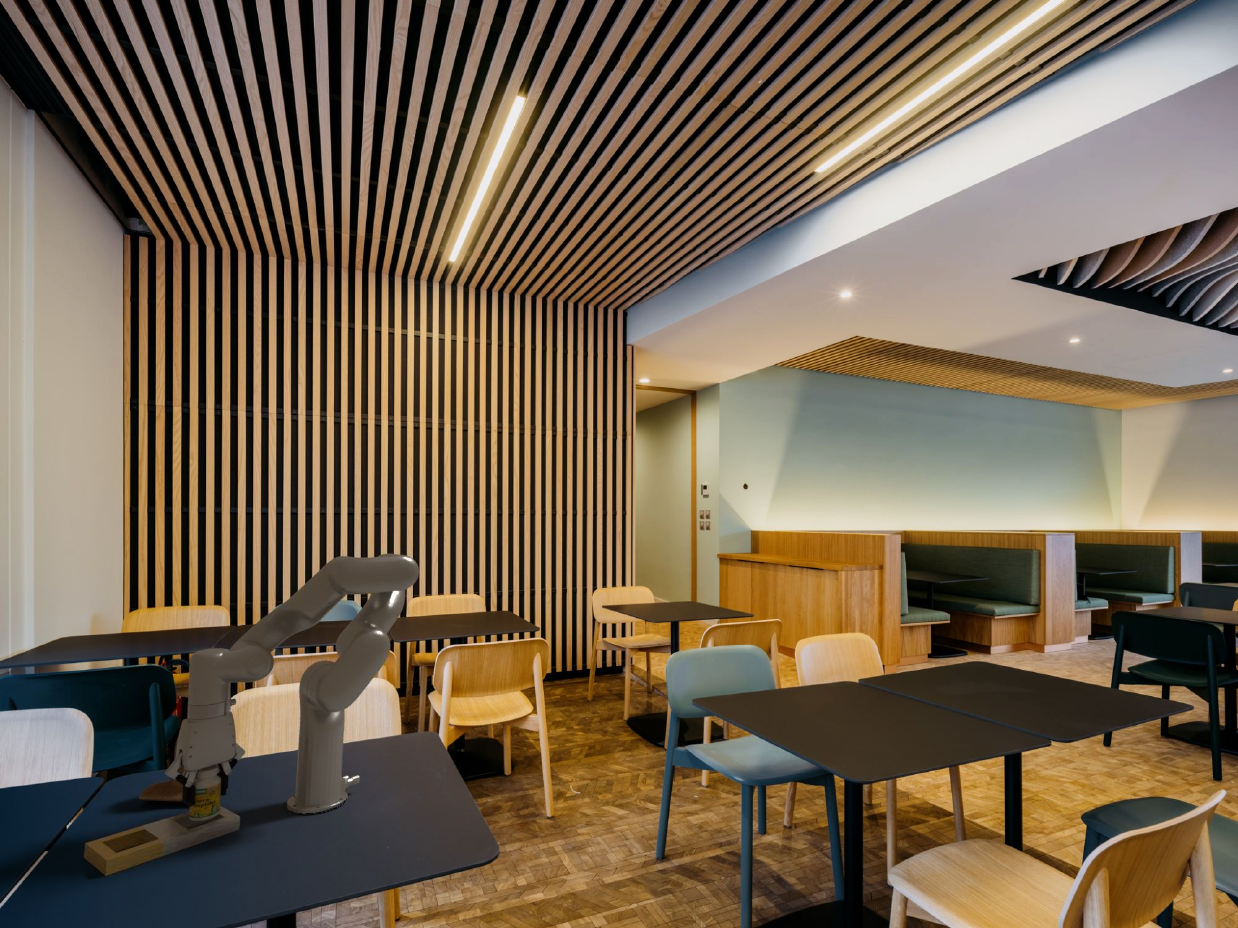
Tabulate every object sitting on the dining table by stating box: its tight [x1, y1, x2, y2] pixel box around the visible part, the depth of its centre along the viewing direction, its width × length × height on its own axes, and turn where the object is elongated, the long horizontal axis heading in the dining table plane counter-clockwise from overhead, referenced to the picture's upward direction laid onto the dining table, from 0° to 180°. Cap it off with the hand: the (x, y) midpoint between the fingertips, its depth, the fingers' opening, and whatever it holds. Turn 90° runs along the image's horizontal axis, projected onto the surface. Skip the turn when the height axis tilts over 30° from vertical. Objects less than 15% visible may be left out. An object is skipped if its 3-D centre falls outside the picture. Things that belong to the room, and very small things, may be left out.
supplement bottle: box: [188, 765, 221, 821], centre depth 137 cm, size 5×5×10 cm
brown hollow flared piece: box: [138, 737, 218, 802], centre depth 154 cm, size 15×12×15 cm
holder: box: [83, 805, 241, 877], centre depth 131 cm, size 23×11×3 cm, turn 145°
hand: (205, 798), depth 137 cm, fingers closed on supplement bottle, 5 cm apart
